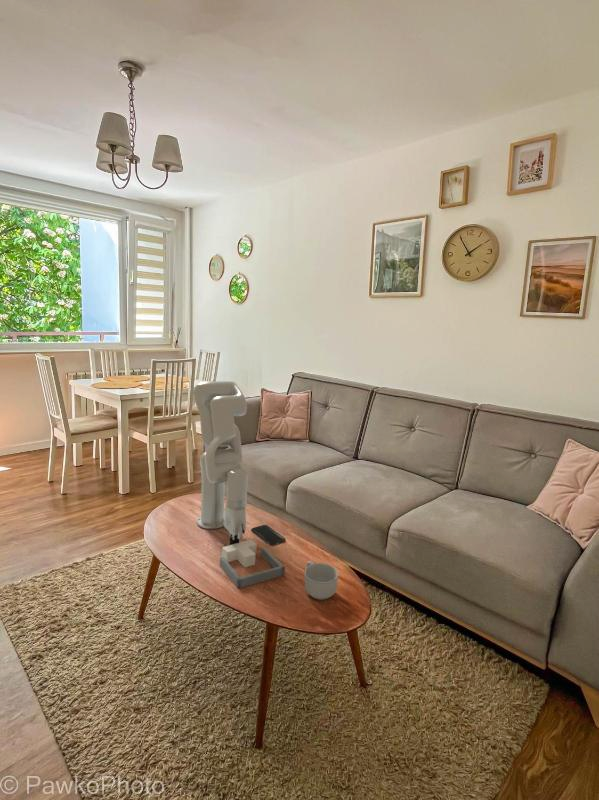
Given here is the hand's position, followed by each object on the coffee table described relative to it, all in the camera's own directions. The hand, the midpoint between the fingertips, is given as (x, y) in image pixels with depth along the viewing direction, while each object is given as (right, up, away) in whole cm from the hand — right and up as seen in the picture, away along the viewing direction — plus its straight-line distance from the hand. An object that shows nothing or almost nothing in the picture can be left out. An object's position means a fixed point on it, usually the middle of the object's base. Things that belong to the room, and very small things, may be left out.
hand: (234, 547), depth 166 cm
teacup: (+30, -7, -21) cm, 38 cm away
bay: (+7, -4, -11) cm, 14 cm away
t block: (+4, -2, -5) cm, 7 cm away
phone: (+12, 0, +13) cm, 18 cm away
